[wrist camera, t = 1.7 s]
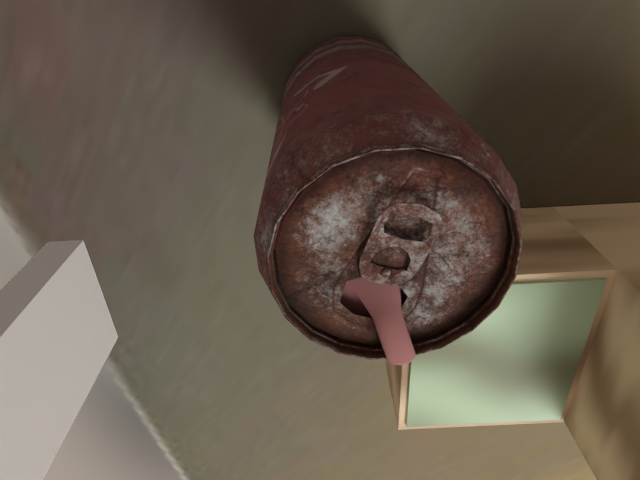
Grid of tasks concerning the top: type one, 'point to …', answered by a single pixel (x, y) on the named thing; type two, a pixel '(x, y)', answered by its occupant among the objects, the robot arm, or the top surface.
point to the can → (382, 209)
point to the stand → (549, 343)
